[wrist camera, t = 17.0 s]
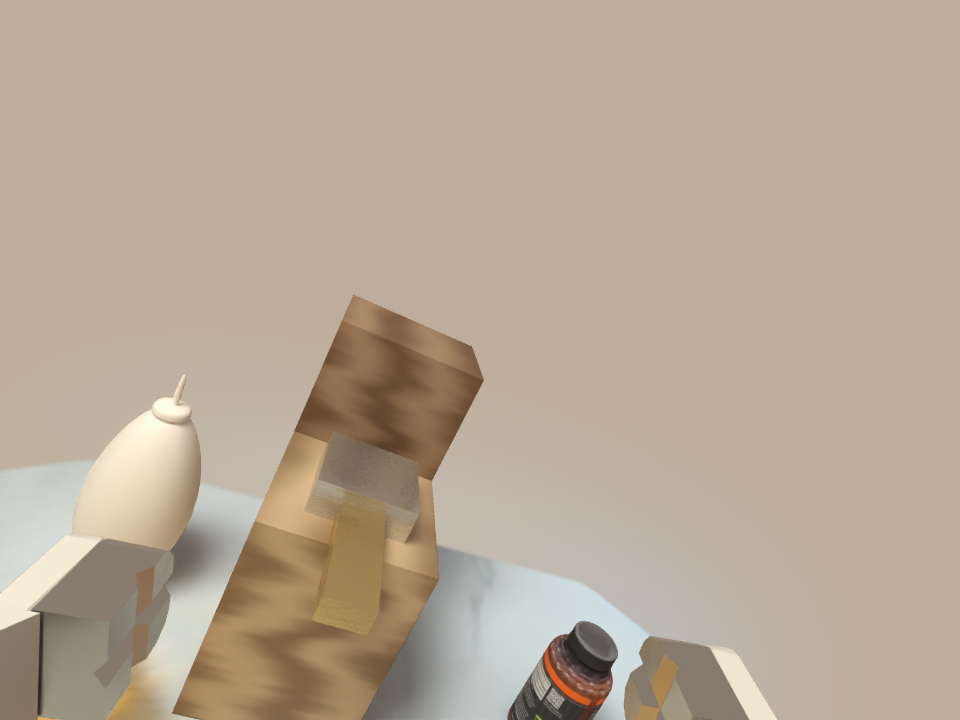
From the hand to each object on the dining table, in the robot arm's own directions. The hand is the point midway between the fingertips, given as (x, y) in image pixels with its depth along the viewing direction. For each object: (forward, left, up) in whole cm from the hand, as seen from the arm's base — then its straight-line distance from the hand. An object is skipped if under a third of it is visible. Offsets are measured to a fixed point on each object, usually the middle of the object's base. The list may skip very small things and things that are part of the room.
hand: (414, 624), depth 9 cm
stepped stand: (+3, +32, -31) cm, 45 cm away
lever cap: (+3, +23, -15) cm, 28 cm away
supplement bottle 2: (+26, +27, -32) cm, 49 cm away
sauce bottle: (-12, +32, -32) cm, 47 cm away
